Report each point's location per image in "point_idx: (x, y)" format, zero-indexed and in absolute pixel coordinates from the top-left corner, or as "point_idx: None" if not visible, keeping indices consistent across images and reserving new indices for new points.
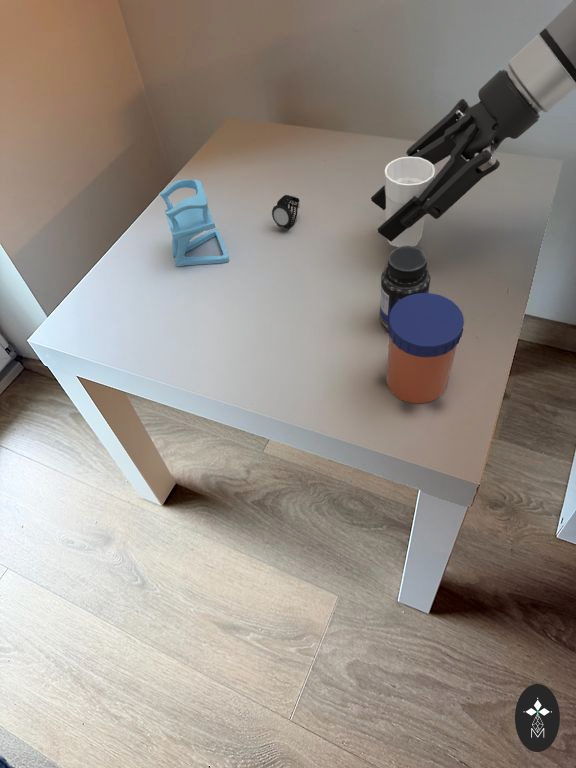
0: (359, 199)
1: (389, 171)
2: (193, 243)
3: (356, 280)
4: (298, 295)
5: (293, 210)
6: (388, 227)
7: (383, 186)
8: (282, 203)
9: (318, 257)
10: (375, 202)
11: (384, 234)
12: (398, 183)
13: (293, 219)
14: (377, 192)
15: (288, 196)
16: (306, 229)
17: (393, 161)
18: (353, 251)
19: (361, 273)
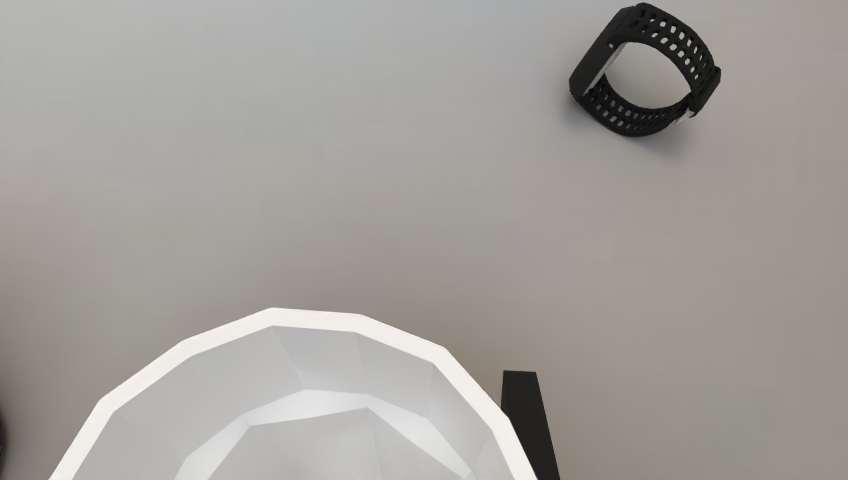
0: (807, 433)
1: (439, 395)
2: None
3: (217, 326)
4: (209, 119)
5: (672, 113)
6: None
7: (542, 431)
8: (628, 17)
9: (398, 202)
10: (501, 399)
11: None
12: (117, 396)
13: (644, 129)
14: (532, 400)
15: (678, 39)
16: (585, 177)
17: (492, 423)
18: None
19: None
